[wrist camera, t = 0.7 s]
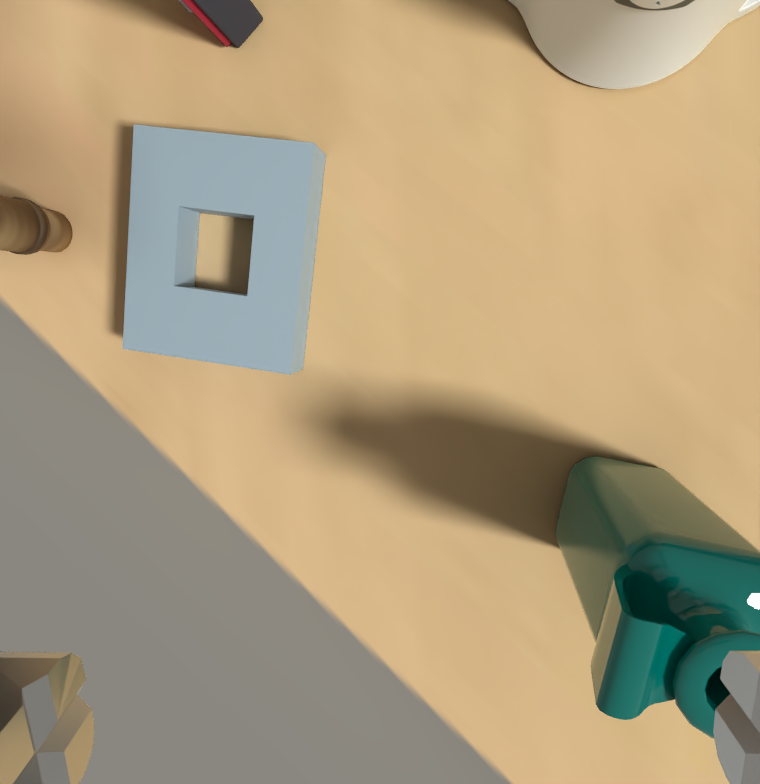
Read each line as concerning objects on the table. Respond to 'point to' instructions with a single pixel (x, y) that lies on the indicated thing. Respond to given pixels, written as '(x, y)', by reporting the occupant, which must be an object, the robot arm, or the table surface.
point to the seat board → (180, 239)
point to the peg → (31, 227)
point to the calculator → (226, 18)
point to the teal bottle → (657, 588)
